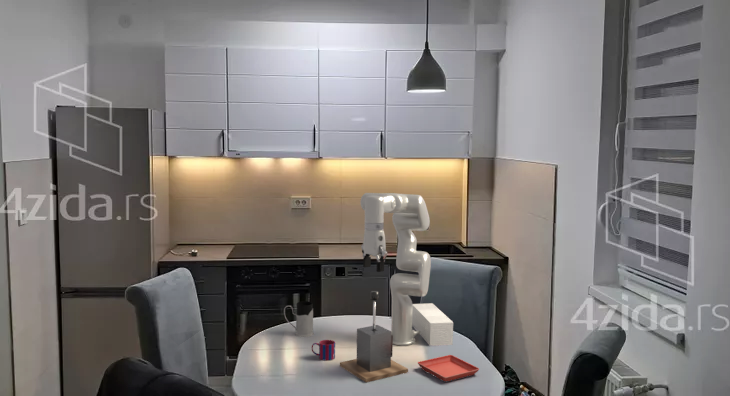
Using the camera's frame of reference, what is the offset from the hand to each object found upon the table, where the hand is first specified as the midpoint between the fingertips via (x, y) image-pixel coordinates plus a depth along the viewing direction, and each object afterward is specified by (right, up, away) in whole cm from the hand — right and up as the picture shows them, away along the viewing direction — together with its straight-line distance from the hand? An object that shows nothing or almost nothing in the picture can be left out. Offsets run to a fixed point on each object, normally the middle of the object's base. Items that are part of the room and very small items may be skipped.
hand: (373, 269), depth 249 cm
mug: (-21, -40, +16) cm, 48 cm away
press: (+1, -39, +5) cm, 40 cm away
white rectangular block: (+28, -37, +49) cm, 68 cm away
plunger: (0, -30, +3) cm, 30 cm away
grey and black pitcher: (-35, -36, +47) cm, 69 cm away
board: (0, -41, +4) cm, 41 cm away
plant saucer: (+30, -42, +2) cm, 52 cm away
